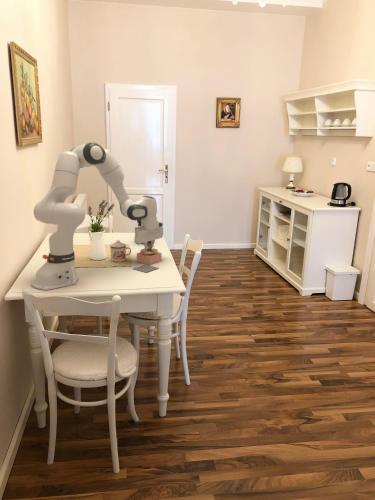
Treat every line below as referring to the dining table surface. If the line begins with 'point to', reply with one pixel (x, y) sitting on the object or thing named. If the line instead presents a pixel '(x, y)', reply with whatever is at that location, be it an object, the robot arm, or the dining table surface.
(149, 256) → the pink hollow square box
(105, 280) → the dining table surface
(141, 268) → the mat
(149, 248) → the lid
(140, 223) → the brown wooden box
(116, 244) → the teacup with lid
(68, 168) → the robot arm
